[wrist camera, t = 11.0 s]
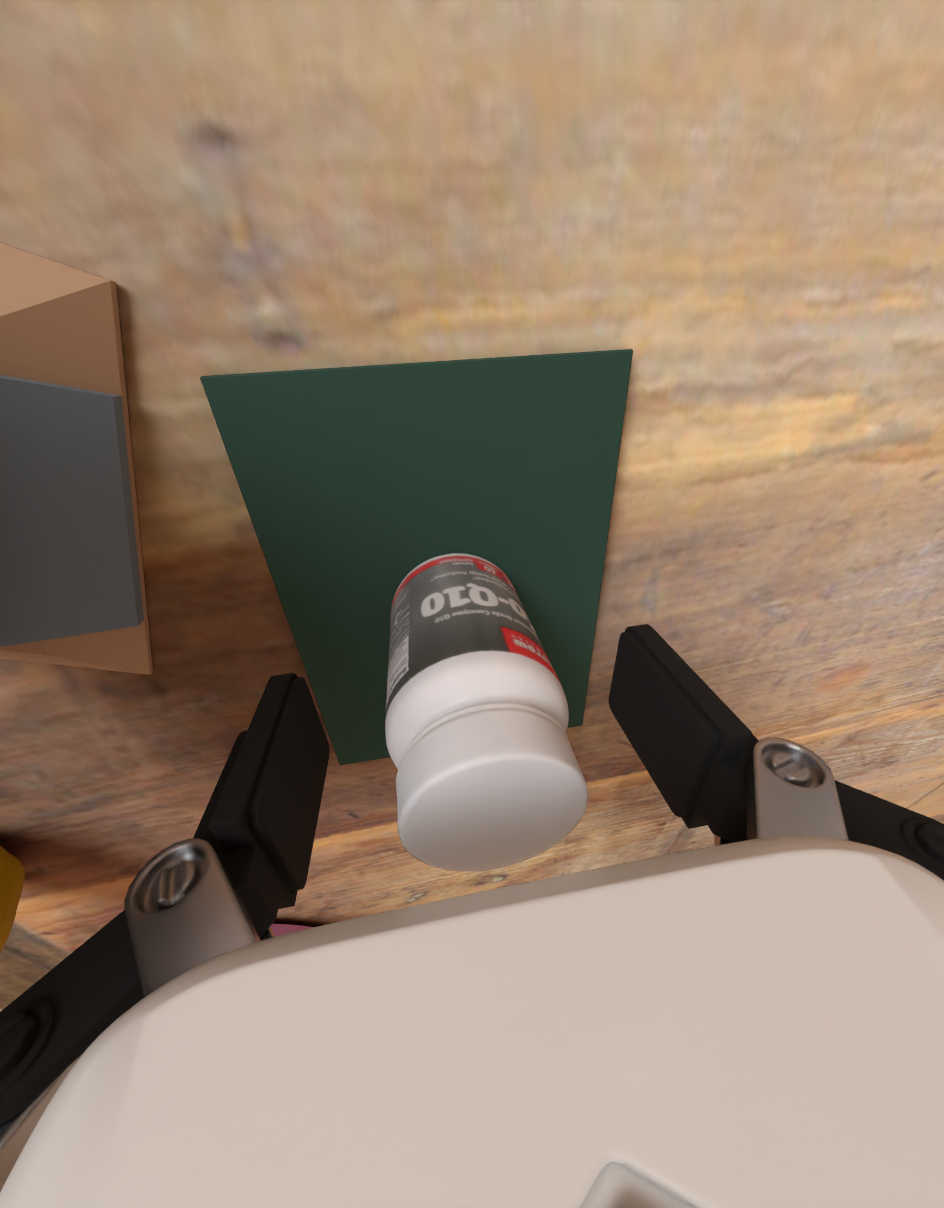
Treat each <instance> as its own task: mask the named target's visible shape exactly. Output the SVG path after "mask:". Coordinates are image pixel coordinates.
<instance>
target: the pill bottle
mask: <svg viewBox="0 0 944 1208" xmlns="http://www.w3.org/2000/svg"><path fill="white" fill-rule="evenodd" d="M568 721H569V711H568V704H567V700H566V696H565V694H564V691H563V688H562V685H561V683H560V681H559V679H558V677H557V675H556V673H555V671H554V669H553V667H552V665H551V663H550V661H549V659H548V657H547V655H546V653H545V651H544V649H543V647H542V645H541V643H540V641H539V639H538V637H537V635H536V633H535V630H534V628H533V626H532V624H531V622H530V620H529V618H528V616H527V614H526V612H525V610H524V608H523V606H522V604H521V602H520V600H519V597H518V595H517V593H516V591H515V589H514V587H513V585H512V583H511V582H510V580H509V578H508V577H507V576H506V574H505V573H504V572H503V571H502V570H501V569H500V568H498V567H497V566H496V565H494V564H493V563H491V562H489V561H487V560H485V559H483V558H481V557H478V556H475V555H470V554H462V553H452V554H445V555H441V556H437V557H434V558H431V559H429V560H427V561H425V562H423V563H421V564H420V565H418V566H417V567H415V568H414V569H413V570H412V571H411V572H409V573H408V574H407V576H406V577H405V578H404V579H403V581H402V582H401V584H400V585H399V587H398V589H397V591H396V593H395V595H394V598H393V602H392V608H391V618H390V643H389V662H388V680H387V699H386V715H385V732H386V744H387V748H388V751H389V754H390V757H391V759H392V761H393V762H394V764H395V766H396V767H397V769H398V772H397V776H396V791H397V816H398V832H399V836H400V840H401V842H402V844H403V845H404V847H405V849H406V850H407V851H408V852H409V853H410V854H411V855H412V856H413V857H415V858H416V859H418V860H420V861H422V862H423V863H425V864H427V865H430V866H434V867H437V868H441V869H445V870H452V871H485V870H491V869H497V868H502V867H506V866H510V865H513V864H516V863H519V862H523V861H525V860H528V859H530V858H532V857H534V856H536V855H539V854H541V853H543V852H544V851H546V850H548V849H550V848H551V847H552V846H554V845H556V844H557V843H559V842H560V841H561V840H562V839H564V838H565V837H566V836H567V835H568V834H569V833H570V832H571V831H572V830H573V829H574V828H575V826H576V825H577V824H578V822H579V821H580V819H581V818H582V816H583V814H584V812H585V810H586V807H587V803H588V789H587V784H586V781H585V779H584V776H583V774H582V771H581V769H580V767H579V764H578V762H577V760H576V757H575V755H574V753H573V750H572V748H571V746H570V743H569V740H568V737H567V735H566V732H567V727H568Z"/></svg>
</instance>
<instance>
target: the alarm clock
mask: <svg viewBox="0 0 944 1208" xmlns="http://www.w3.org/2000/svg"><path fill="white" fill-rule="evenodd" d="M0 658H1V659H10V660H19V661H29V662H38V663H47V664H56V665H65V666H74V667H83V668H92V669H101V670H110V671H120V672H129V673H138V674H147V675H150V674H151V673H152V671H153V667H152V656H151V646H150V635H149V625H148V614H147V604H146V593H145V583H144V572H143V562H142V551H141V541H140V530H139V520H138V509H137V499H136V488H135V478H134V467H133V457H132V446H131V436H130V425H129V415H128V404H127V394H126V383H125V373H124V362H123V352H122V341H121V331H120V320H119V310H118V299H117V289H116V282H113V281H110V280H107V279H105V278H102V277H99V276H96V275H93V274H90V273H87V272H84V271H81V270H78V269H75V268H72V267H69V266H66V265H64V264H61V263H58V262H55V261H52V260H49V259H46V258H43V257H40V256H37V255H34V254H31V253H28V252H26V251H23V250H20V249H17V248H14V247H11V246H8V245H5V244H2V243H0Z"/></svg>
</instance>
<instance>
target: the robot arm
mask: <svg viewBox="0 0 944 1208" xmlns="http://www.w3.org/2000/svg"><path fill="white" fill-rule="evenodd" d="M609 706H610V709H611V711H612V713H613V715H614V716H615V718H616V720H617V721H618V723H619V725H620V726H621V728H622V730H623V731H624V733H625V734H626V736H627V738H628V739H629V741H630V743H631V744H632V746H633V748H634V749H635V751H636V753H637V754H638V756H639V758H640V759H641V761H642V763H643V764H644V766H645V768H646V769H647V771H648V773H649V774H650V776H651V777H652V779H653V781H654V782H655V784H656V786H657V787H658V789H659V791H660V792H661V794H662V796H663V797H664V799H665V801H666V802H667V804H668V806H669V807H670V809H671V810H672V812H673V813H674V814H675V815H676V816H678V817H680V816H681V818H682V819H683V821H684V822H685V824H686V826H687V827H688V829H690V828H695V827H700V826H705V825H708V827H709V828H710V830H711V831H712V833H713V834H715V843H714V846H712V847H707V848H701V849H695V850H690V851H685V852H679V853H674V854H669V855H664V856H659V857H654V858H649V859H644V860H639V861H634V862H628V863H623V864H618V865H613V866H608V867H603V868H598V869H593V870H588V871H583V872H578V873H573V874H568V875H563V876H558V877H553V878H548V879H543V880H538V881H533V882H528V883H523V884H518V885H513V886H508V887H503V888H498V889H494V890H489V891H484V892H479V893H474V894H469V895H464V896H459V897H454V898H450V899H445V900H440V901H435V902H430V903H425V904H421V905H416V906H411V907H406V908H401V909H396V910H392V911H387V912H382V913H377V914H372V915H367V916H363V917H358V918H354V919H349V920H345V921H340V922H336V923H332V924H327V925H323V926H318V927H314V928H309V929H305V930H301V931H296V932H292V933H287V934H284V935H280V936H277V937H275V935H274V933H273V931H272V928H271V925H272V924H273V923H274V922H275V921H276V916H277V912H278V909H282V908H287V907H292V906H295V901H296V896H297V891H298V890H300V889H303V888H304V886H305V884H306V880H307V875H308V869H309V864H310V858H311V853H312V847H313V842H314V836H315V831H316V826H317V820H318V815H319V809H320V804H321V798H322V793H323V787H324V782H325V776H326V771H327V765H328V760H329V744H328V741H327V738H326V735H325V732H324V730H323V727H322V724H321V722H320V719H319V716H318V714H317V711H316V708H315V705H314V703H313V700H312V697H311V695H310V692H309V689H308V686H307V684H306V681H305V679H304V678H303V677H301V678H298V677H297V675H296V674H295V673H290V674H283V675H276V676H272V677H270V679H269V681H268V683H267V686H266V688H265V690H264V693H263V695H262V698H261V700H260V702H259V705H258V707H257V710H256V712H255V714H254V717H253V719H252V722H251V724H250V726H249V729H248V730H246V731H243V732H241V733H240V734H239V736H238V738H237V739H236V741H235V744H234V746H233V748H232V751H231V753H230V755H229V757H228V760H227V762H226V764H225V767H224V769H223V771H222V773H221V776H220V778H219V780H218V783H217V785H216V787H215V789H214V792H213V794H212V796H211V799H210V801H209V803H208V805H207V808H206V810H205V812H204V815H203V817H202V819H201V821H200V824H199V826H198V828H197V831H196V833H195V835H194V837H193V839H186V840H183V841H180V842H177V843H175V844H173V845H171V846H169V847H167V848H166V849H164V850H162V851H161V852H160V853H158V854H157V855H156V856H155V857H153V858H152V859H151V860H150V861H149V862H148V863H147V864H146V865H145V866H144V867H143V868H142V869H141V870H140V871H139V873H138V874H137V875H136V877H135V879H134V880H133V882H132V883H131V885H130V886H129V889H128V892H127V895H126V898H125V910H124V911H123V912H121V913H120V914H119V915H118V916H116V917H115V918H114V919H113V920H112V921H110V922H109V923H108V924H107V925H106V926H104V927H103V928H102V929H101V930H99V931H98V932H97V933H96V934H95V935H93V936H92V937H91V938H90V939H88V940H87V941H86V942H85V943H84V944H82V945H81V946H80V947H79V948H78V949H76V950H75V951H74V952H73V953H71V954H70V955H69V956H68V957H67V958H65V959H64V960H63V961H62V962H61V963H59V964H58V965H57V966H56V967H54V968H53V969H52V970H51V971H50V972H48V973H47V974H46V975H45V976H44V977H42V978H41V979H40V980H39V981H37V982H36V983H35V984H34V985H33V986H31V987H30V988H29V989H28V990H27V991H25V992H24V993H23V994H22V995H20V996H19V997H18V998H17V999H16V1000H14V1001H13V1002H12V1003H11V1004H9V1005H8V1006H7V1007H6V1008H5V1009H3V1010H2V1011H1V1012H0V1208H944V824H942V823H940V822H938V821H936V820H934V819H931V818H929V817H926V816H924V815H921V814H919V813H916V812H914V811H911V810H909V809H906V808H903V807H901V806H898V805H896V804H893V803H891V802H888V801H886V800H883V799H881V798H878V797H876V796H873V795H871V794H868V793H866V792H863V791H861V790H858V789H855V788H853V787H850V786H848V785H845V784H843V783H840V782H838V781H835V780H834V777H833V774H832V772H831V770H830V768H829V767H828V766H827V765H826V763H825V762H824V761H823V760H822V759H821V758H820V757H819V756H817V755H816V754H815V753H814V752H812V751H811V750H809V749H807V748H806V747H804V746H802V745H800V744H798V743H795V742H792V741H790V740H786V739H781V738H765V739H762V740H760V741H758V740H757V739H756V737H755V736H754V735H753V734H752V732H751V731H750V730H749V729H748V728H747V727H746V726H745V725H744V724H743V723H742V721H741V720H740V719H739V718H738V717H737V716H736V715H735V714H734V713H733V712H732V711H731V710H730V709H729V708H728V707H727V706H726V705H725V704H724V703H723V701H722V700H721V699H720V698H719V697H718V696H717V695H716V694H715V693H714V692H713V691H712V690H711V689H710V688H709V687H708V686H707V685H706V684H705V683H704V681H703V680H702V679H701V678H700V677H699V676H698V675H697V674H696V673H695V672H694V671H693V670H692V669H691V668H690V667H689V666H688V665H687V664H686V663H685V661H684V660H683V659H682V658H681V657H680V656H679V655H678V654H677V653H676V652H675V651H674V650H673V649H672V648H671V647H670V646H669V645H668V644H667V643H666V642H665V640H664V639H663V638H662V637H661V636H660V635H659V634H658V633H657V632H656V631H655V630H654V629H653V628H652V627H651V626H650V625H647V624H645V625H638V626H631V627H627V628H626V630H625V632H623V633H621V635H620V639H619V644H618V650H617V655H616V661H615V667H614V672H613V678H612V683H611V689H610V695H609Z"/></svg>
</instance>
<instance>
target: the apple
mask: <svg viewBox="0 0 944 1208" xmlns="http://www.w3.org/2000/svg"><path fill="white" fill-rule="evenodd" d="M24 879H25V868H24V866H23V865H22V863H21V862H20V860H19V859H18V858H17V857H15V856H13V855H11V854H9V853H8V852H7V851H6V850H5V849H4V848H3V847H2V846H1V845H0V952H1V950H2V948H3V947H4V945H5V943H6V941H7V939H8V936H9V933H10V931H11V928H12V925H13V922H14V918H15V915H16V910H17V906H18V903H19V899H20V896H21V892H22V889H23V884H24Z"/></svg>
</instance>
